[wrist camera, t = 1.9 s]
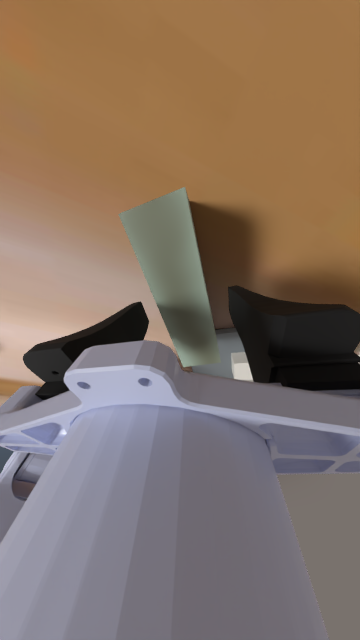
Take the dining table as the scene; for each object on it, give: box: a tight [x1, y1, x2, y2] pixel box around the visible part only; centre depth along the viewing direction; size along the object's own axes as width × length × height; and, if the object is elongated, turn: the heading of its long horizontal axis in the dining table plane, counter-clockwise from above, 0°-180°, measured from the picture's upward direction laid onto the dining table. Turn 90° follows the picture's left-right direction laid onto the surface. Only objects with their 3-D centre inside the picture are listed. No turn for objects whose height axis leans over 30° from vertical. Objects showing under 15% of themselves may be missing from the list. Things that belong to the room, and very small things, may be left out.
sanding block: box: [119, 187, 221, 367], centre depth 15 cm, size 4×14×7 cm, turn 16°
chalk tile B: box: [231, 352, 253, 380], centre depth 22 cm, size 4×4×2 cm
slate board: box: [192, 328, 245, 379], centre depth 25 cm, size 12×18×1 cm, turn 12°
